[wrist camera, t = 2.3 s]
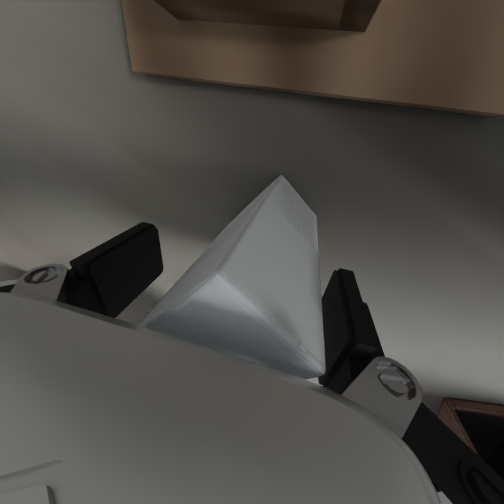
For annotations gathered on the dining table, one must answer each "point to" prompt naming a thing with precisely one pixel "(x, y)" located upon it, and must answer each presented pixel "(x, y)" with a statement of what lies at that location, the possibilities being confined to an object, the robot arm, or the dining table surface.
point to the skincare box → (255, 288)
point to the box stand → (330, 48)
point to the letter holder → (478, 428)
